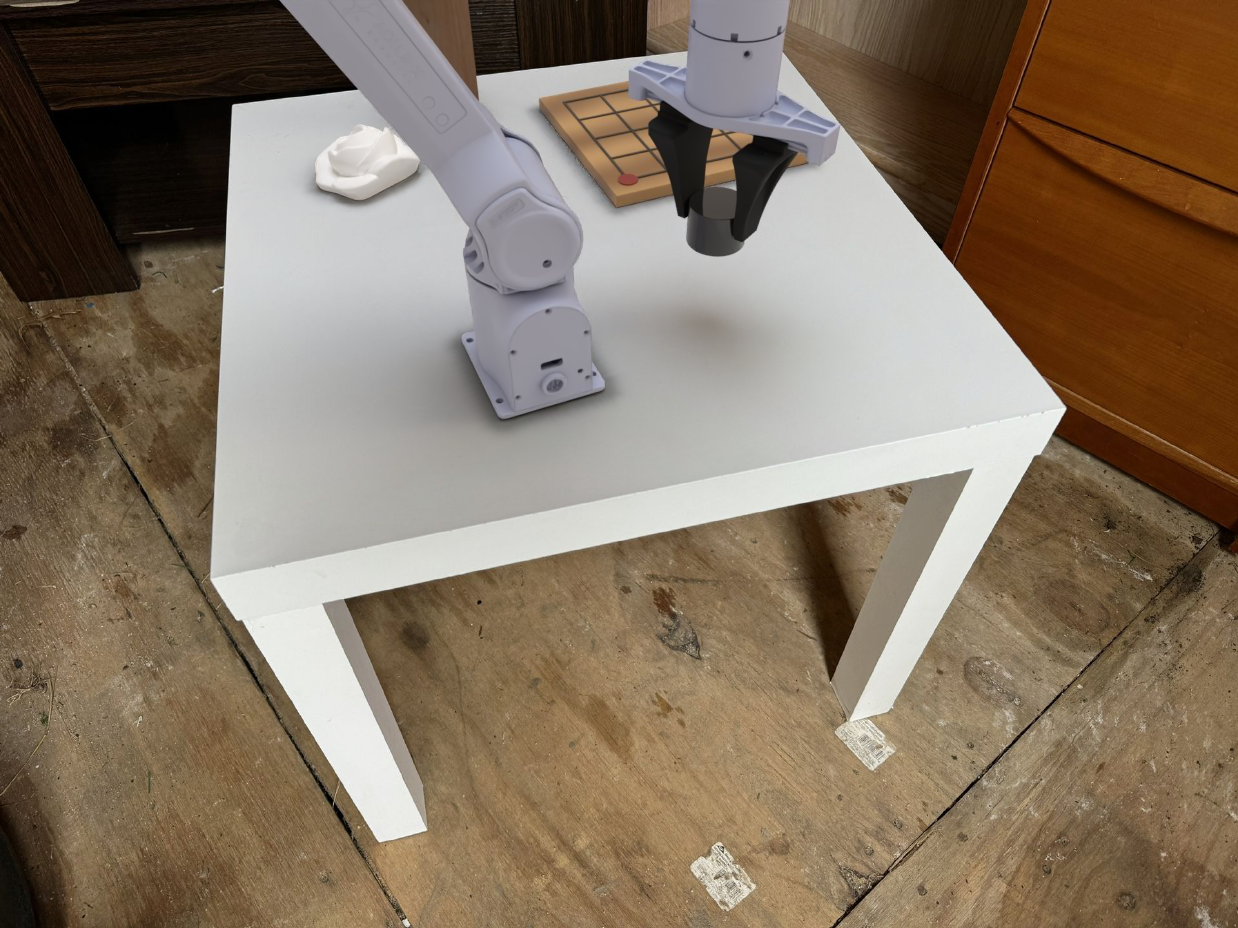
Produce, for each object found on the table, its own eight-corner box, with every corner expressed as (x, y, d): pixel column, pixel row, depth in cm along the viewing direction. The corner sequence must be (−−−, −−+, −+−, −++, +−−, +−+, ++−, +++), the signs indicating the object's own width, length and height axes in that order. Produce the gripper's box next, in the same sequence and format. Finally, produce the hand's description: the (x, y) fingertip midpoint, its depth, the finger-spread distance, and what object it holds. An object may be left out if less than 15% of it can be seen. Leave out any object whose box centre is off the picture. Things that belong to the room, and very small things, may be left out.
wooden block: (386, 107, 91) (348, -92, 77) (416, 90, 93) (384, -105, 80) (453, 131, 88) (424, -72, 74) (482, 113, 90) (460, -86, 77)
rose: (406, 158, 75) (291, 159, 75) (414, 204, 79) (305, 205, 79) (420, 103, 82) (315, 103, 82) (428, 147, 85) (327, 148, 85)
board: (808, 163, 84) (811, 150, 83) (616, 208, 79) (616, 194, 78) (711, 75, 96) (712, 63, 95) (539, 109, 91) (538, 97, 90)
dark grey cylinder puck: (755, 249, 63) (760, 212, 60) (702, 262, 61) (705, 225, 59) (727, 218, 65) (731, 181, 63) (676, 230, 64) (678, 193, 62)
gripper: (880, 32, 51) (835, 233, 61) (675, -26, 57) (665, 166, 67) (821, 75, 48) (784, 281, 58) (609, 8, 53) (609, 207, 63)
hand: (717, 223), depth 62 cm, fingers closed on dark grey cylinder puck, 4 cm apart
